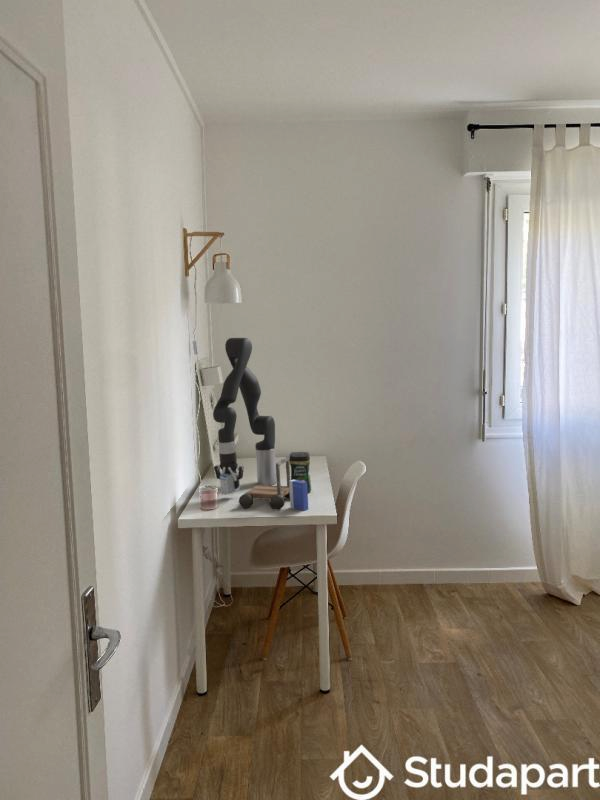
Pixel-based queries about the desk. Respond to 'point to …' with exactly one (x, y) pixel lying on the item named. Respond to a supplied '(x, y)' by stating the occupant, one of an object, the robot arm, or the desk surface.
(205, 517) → the desk surface
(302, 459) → the coffee jar
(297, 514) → the desk surface
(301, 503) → the walkman
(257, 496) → the trolley
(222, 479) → the medicine box
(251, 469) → the desk surface
